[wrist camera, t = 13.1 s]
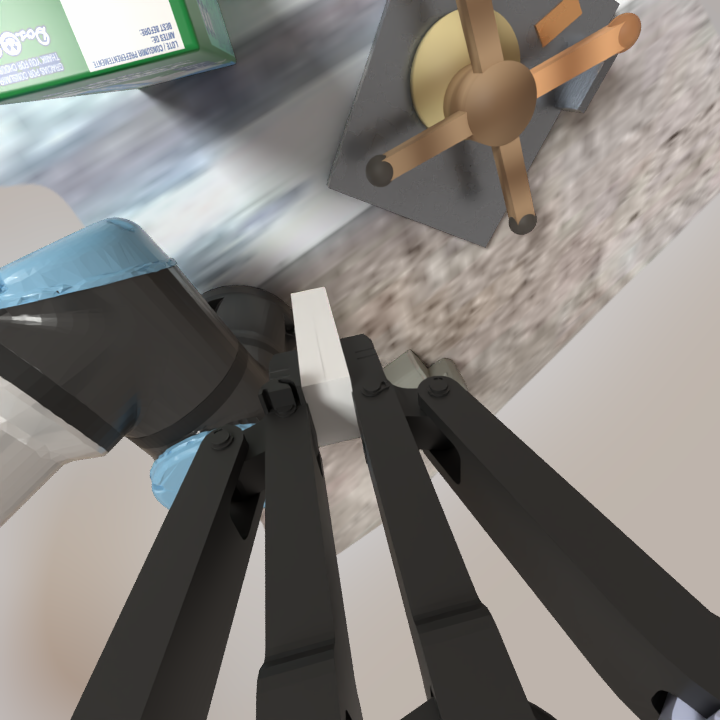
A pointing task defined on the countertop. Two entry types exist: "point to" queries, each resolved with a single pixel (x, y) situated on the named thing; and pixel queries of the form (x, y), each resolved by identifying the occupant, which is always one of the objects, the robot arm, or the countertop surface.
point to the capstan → (488, 94)
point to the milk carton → (105, 45)
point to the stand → (467, 158)
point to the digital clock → (419, 371)
